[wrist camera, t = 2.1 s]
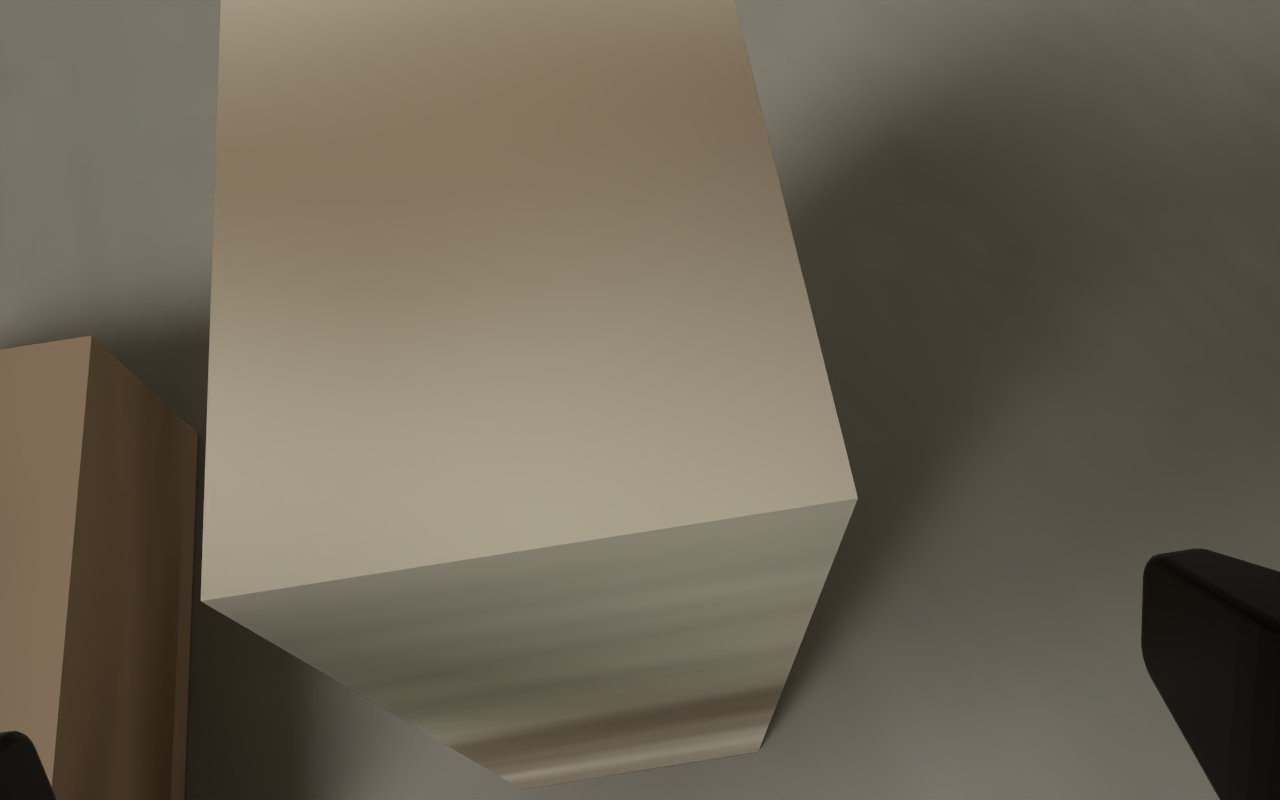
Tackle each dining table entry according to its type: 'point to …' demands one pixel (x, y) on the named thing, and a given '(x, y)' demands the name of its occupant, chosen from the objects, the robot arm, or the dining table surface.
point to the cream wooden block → (516, 375)
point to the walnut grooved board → (95, 571)
